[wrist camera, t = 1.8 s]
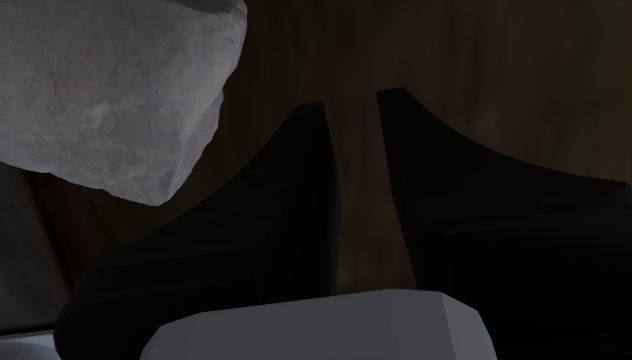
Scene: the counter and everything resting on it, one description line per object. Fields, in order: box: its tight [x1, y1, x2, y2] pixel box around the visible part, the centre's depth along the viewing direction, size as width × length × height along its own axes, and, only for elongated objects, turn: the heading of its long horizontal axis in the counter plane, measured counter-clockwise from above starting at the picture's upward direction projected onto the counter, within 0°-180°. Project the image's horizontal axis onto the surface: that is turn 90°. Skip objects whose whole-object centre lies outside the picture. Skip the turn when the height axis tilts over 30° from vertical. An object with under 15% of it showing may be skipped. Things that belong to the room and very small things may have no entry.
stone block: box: [0, 0, 247, 206], centre depth 19 cm, size 12×5×10 cm
